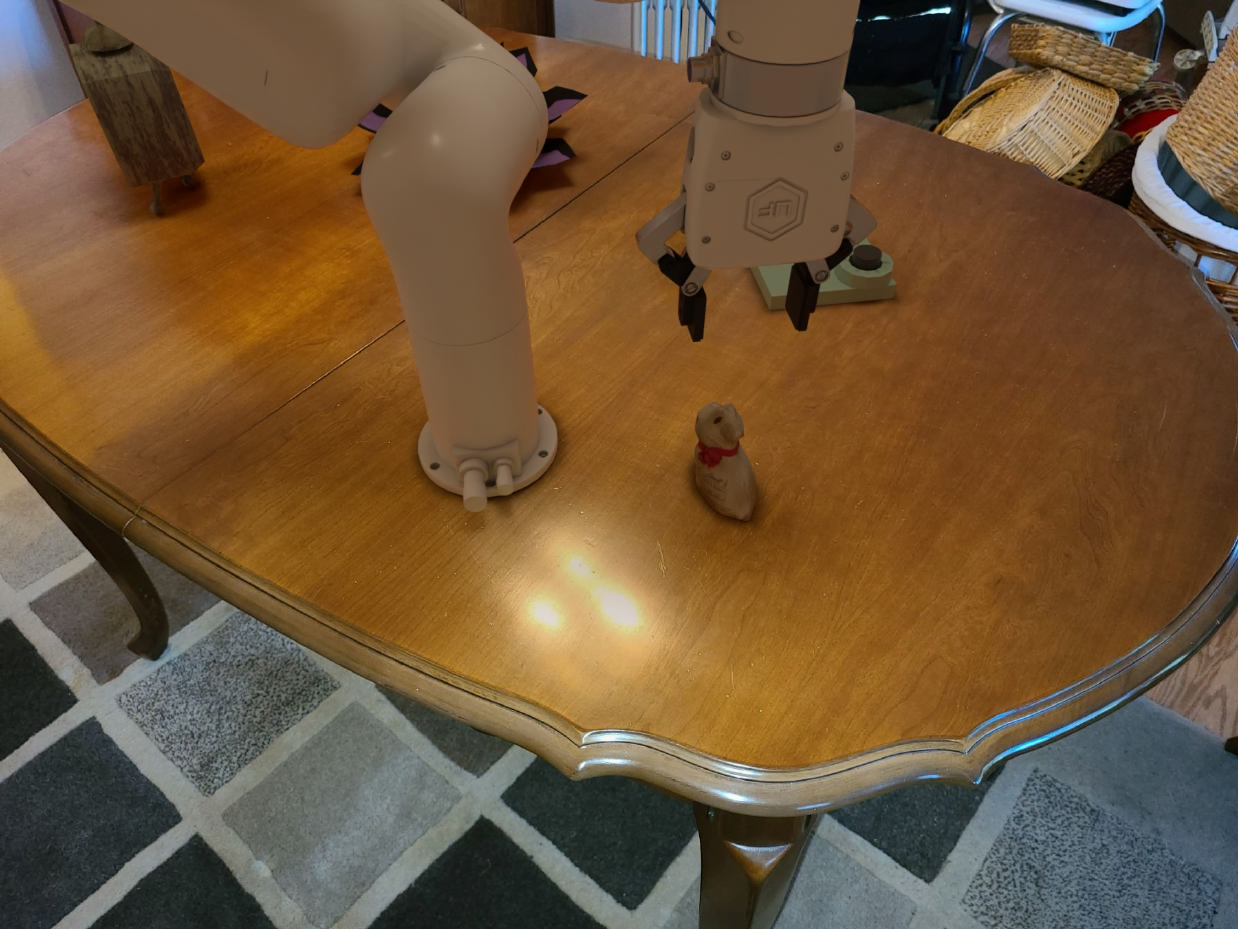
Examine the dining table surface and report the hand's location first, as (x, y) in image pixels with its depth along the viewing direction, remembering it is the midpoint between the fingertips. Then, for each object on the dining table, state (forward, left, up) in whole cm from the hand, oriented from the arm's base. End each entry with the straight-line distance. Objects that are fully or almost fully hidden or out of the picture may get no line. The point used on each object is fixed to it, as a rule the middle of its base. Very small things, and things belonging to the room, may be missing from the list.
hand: (744, 323), depth 60 cm
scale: (+30, -18, -18) cm, 39 cm away
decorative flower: (+63, +20, -18) cm, 68 cm away
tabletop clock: (+61, +58, -18) cm, 86 cm away
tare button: (+27, -22, -15) cm, 37 cm away
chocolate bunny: (0, 0, -18) cm, 18 cm away
